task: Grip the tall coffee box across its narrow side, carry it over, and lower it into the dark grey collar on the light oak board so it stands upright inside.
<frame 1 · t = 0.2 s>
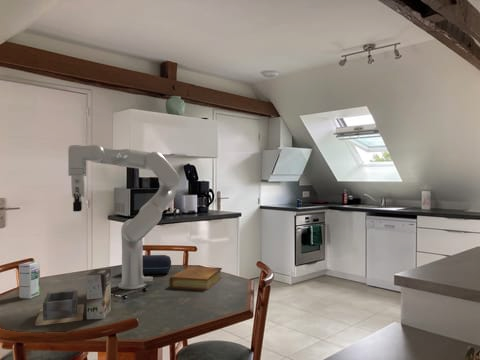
hand: (77, 210, 170), 37 cm above the table, tool pointing down, fingers open, 9 cm apart
diary: (196, 283, 185), on the table
coffee box: (99, 315, 140), on the table
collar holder: (61, 315, 139), on the table
syrup box: (29, 296, 163), on the table
portable speaker: (147, 274, 204), on the table
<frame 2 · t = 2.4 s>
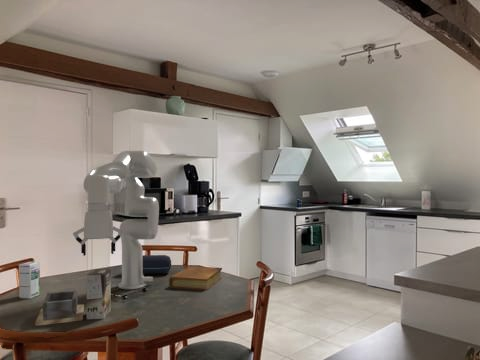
hand: (98, 254, 140), 22 cm above the table, tool pointing down, fingers open, 9 cm apart
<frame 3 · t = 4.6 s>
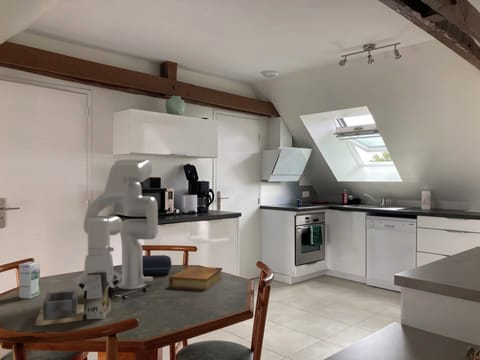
hand: (99, 298, 140), 6 cm above the table, tool pointing down, fingers closed on coffee box, 7 cm apart
coffee box: (99, 315, 140), on the table, touching gripper
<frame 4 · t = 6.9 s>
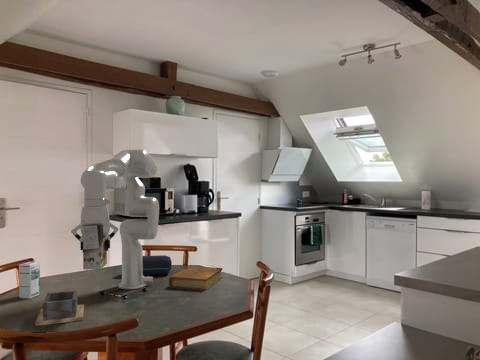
hand: (95, 250, 140), 24 cm above the table, tool pointing down, fingers closed on coffee box, 7 cm apart
coffee box: (95, 267, 140), point 18 cm above the table, touching gripper
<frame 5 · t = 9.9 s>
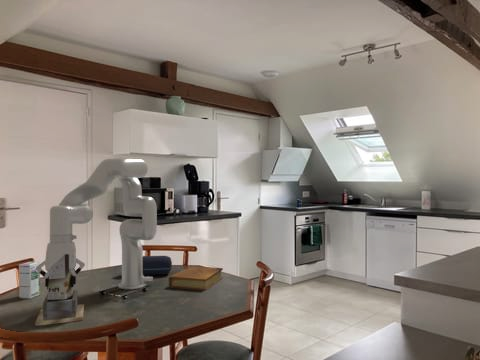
hand: (60, 287, 139), 11 cm above the table, tool pointing down, fingers closed on coffee box, 7 cm apart
coffee box: (60, 298, 139), point 7 cm above the table, touching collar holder, gripper
when the fingers open (10 cm above the table, at t = 11.1 s): coffee box drops 5 cm, resting on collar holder.
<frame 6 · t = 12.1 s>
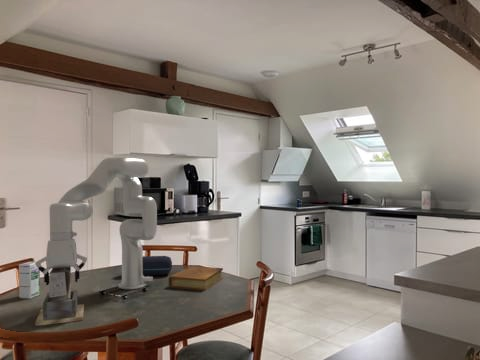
hand: (62, 282, 139), 12 cm above the table, tool pointing down, fingers open, 9 cm apart
coffee box: (60, 313, 138), point 1 cm above the table, touching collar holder
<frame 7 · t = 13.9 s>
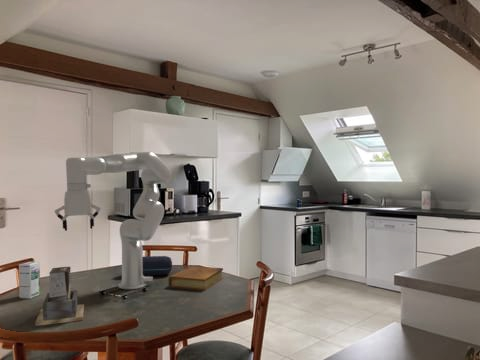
hand: (78, 229, 155), 30 cm above the table, tool pointing down, fingers open, 9 cm apart
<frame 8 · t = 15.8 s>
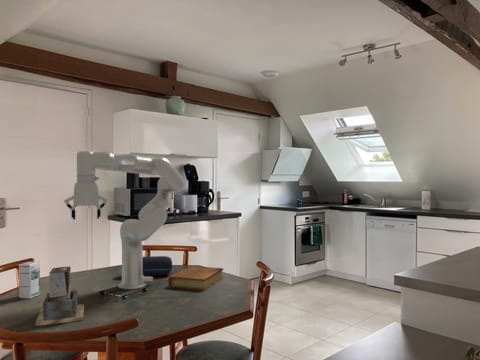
hand: (86, 218, 164), 33 cm above the table, tool pointing down, fingers open, 9 cm apart
at the end: coffee box 0.8 cm off-centre on the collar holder, point 1.0 cm above the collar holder's base; coffee box tilted 0°; the gripper is holding nothing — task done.
